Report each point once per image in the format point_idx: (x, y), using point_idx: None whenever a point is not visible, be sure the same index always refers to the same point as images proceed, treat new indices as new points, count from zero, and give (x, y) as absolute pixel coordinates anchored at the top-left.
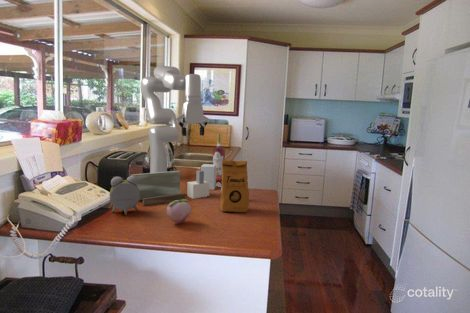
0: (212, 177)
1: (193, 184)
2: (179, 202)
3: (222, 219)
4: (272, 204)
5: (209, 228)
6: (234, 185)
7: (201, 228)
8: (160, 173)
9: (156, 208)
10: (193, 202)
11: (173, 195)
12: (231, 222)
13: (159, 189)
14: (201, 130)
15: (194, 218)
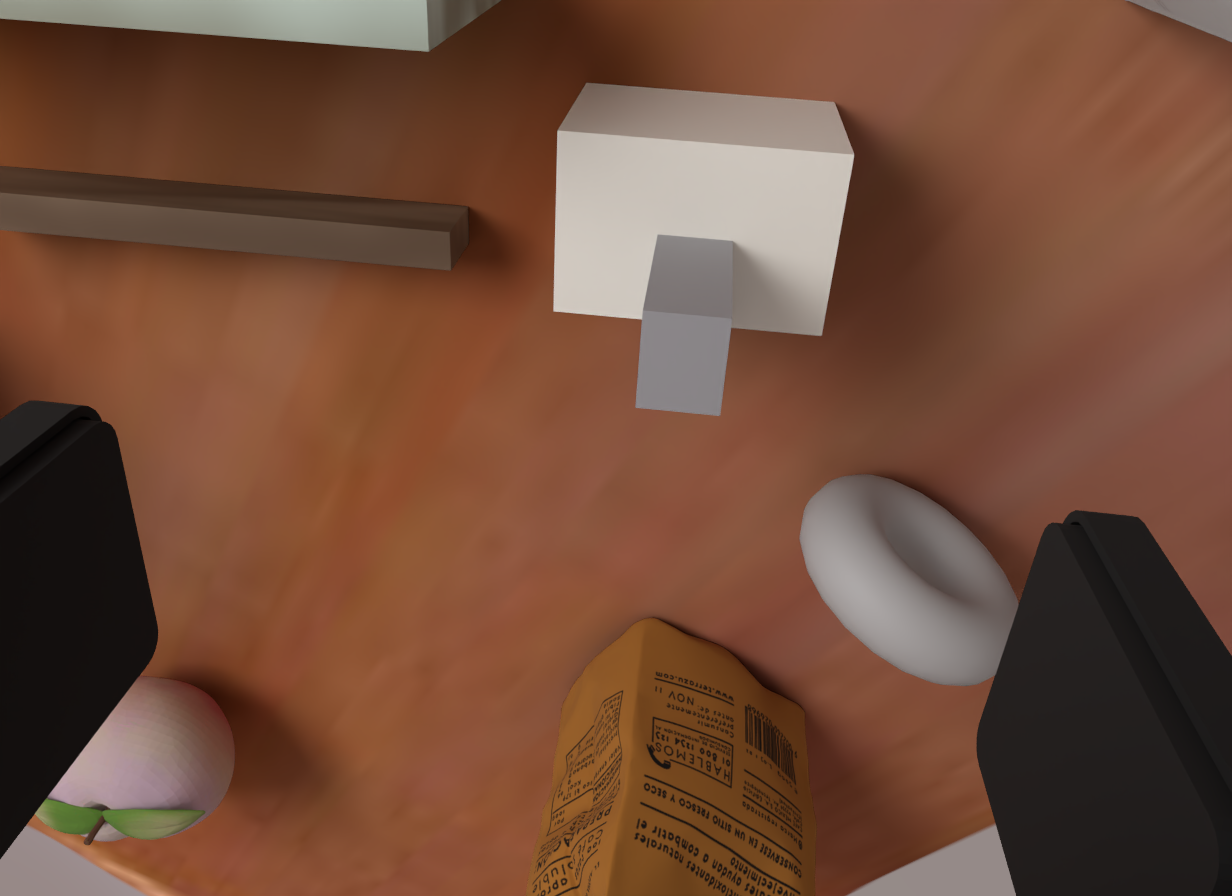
0: (1187, 11)
1: (557, 311)
2: (101, 830)
3: (486, 774)
4: None
5: (332, 822)
6: None
7: (289, 801)
8: (36, 18)
9: (102, 338)
10: (509, 363)
11: (297, 255)
12: (506, 828)
13: None
14: (1067, 866)
15: (320, 675)
